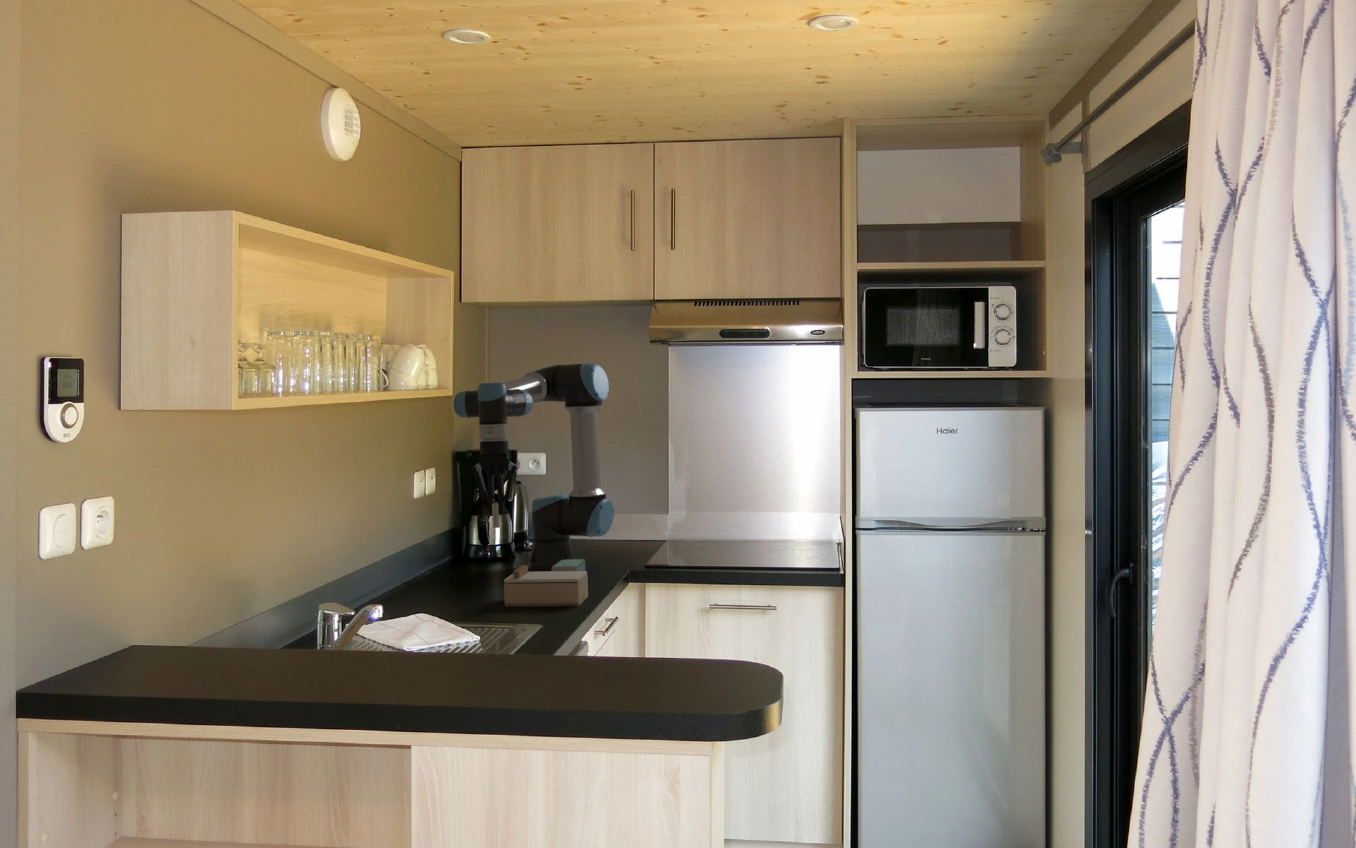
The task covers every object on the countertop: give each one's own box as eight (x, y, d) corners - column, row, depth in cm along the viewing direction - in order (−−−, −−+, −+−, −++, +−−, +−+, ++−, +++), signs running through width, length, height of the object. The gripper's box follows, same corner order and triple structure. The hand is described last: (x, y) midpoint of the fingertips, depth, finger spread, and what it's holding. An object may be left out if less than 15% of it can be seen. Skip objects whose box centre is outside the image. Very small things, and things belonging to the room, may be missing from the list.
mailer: (517, 597, 281) (516, 575, 281) (588, 596, 279) (587, 574, 278) (504, 606, 269) (503, 584, 269) (578, 606, 267) (578, 583, 267)
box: (586, 583, 299) (585, 557, 298) (577, 592, 285) (576, 566, 285) (561, 583, 299) (560, 558, 299) (552, 593, 286) (550, 567, 285)
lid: (515, 574, 280) (515, 564, 280) (587, 574, 278) (586, 563, 278) (504, 582, 269) (503, 572, 269) (578, 581, 267) (577, 571, 267)
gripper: (465, 441, 271) (469, 529, 272) (513, 440, 269) (517, 528, 270) (474, 439, 278) (478, 525, 279) (521, 438, 277) (524, 524, 278)
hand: (497, 527), depth 275 cm, fingers closed
